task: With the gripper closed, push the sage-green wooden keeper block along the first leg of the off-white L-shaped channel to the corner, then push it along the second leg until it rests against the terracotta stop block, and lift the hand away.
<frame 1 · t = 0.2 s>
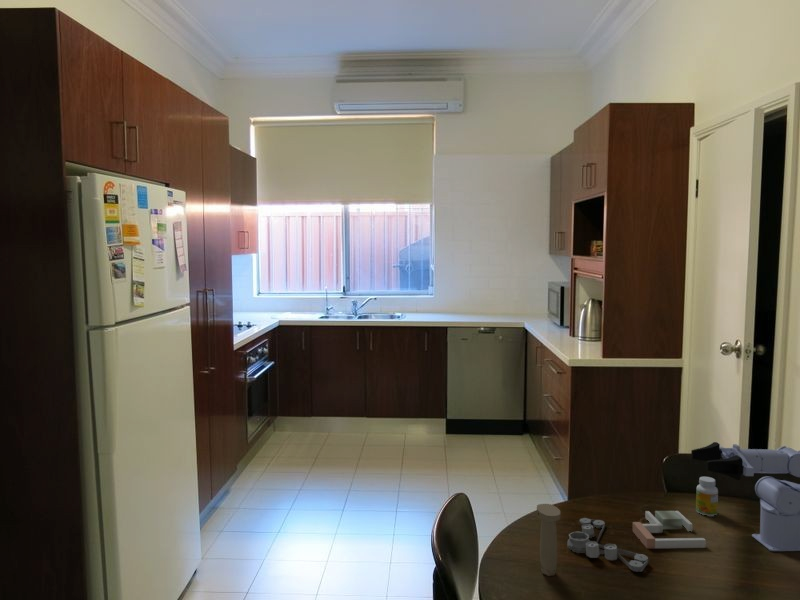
hand: (699, 459, 141), 22 cm above the table, tool horizontal, fingers open, 7 cm apart
stop block: (643, 539, 145), on the table
handle: (548, 573, 130), on the table
pulley system: (596, 548, 142), on the table
keeper block: (668, 525, 153), on the table
supplement bottle: (706, 513, 160), on the table
channel: (671, 535, 147), on the table
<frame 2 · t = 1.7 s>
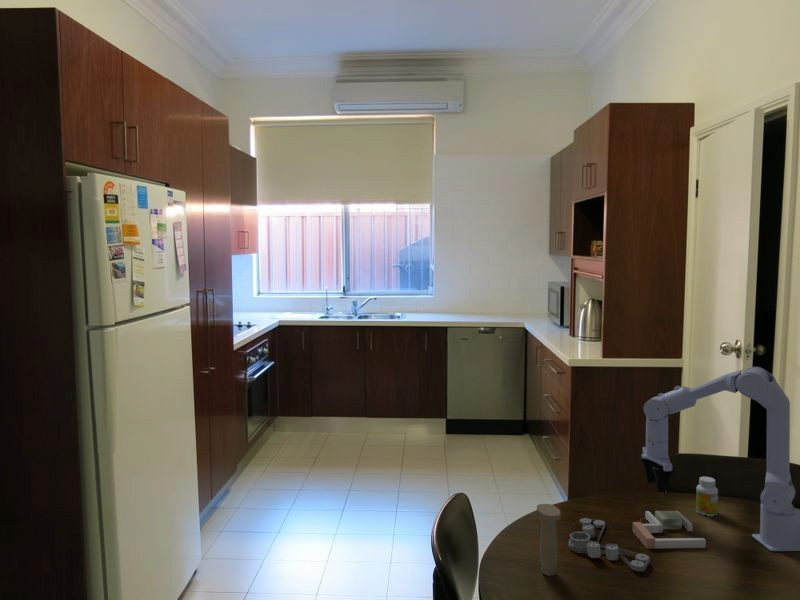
hand: (656, 486, 160), 7 cm above the table, tool pointing down, fingers open, 6 cm apart
nothing on the table moved.
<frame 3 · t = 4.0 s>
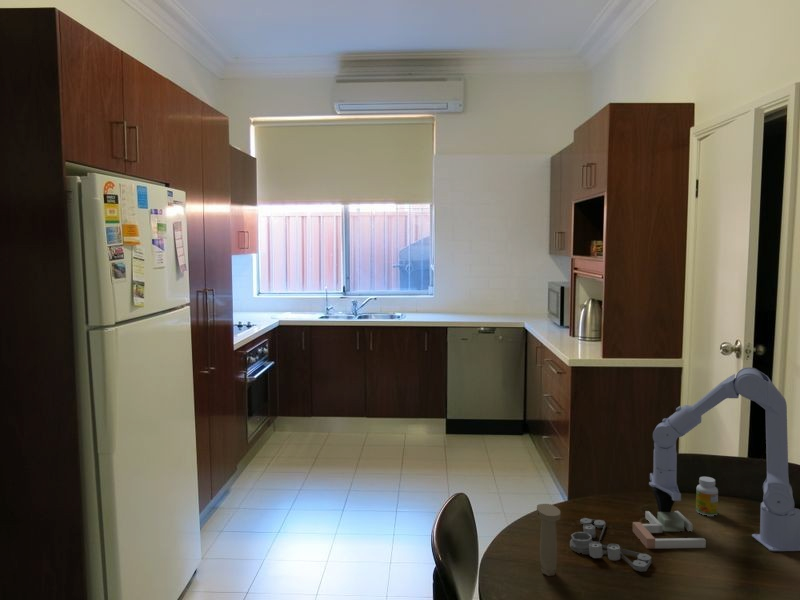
hand: (664, 515, 155), 1 cm above the table, tool pointing down, fingers closed
keeper block: (670, 526, 152), on the table, touching gripper
everything else where it was.
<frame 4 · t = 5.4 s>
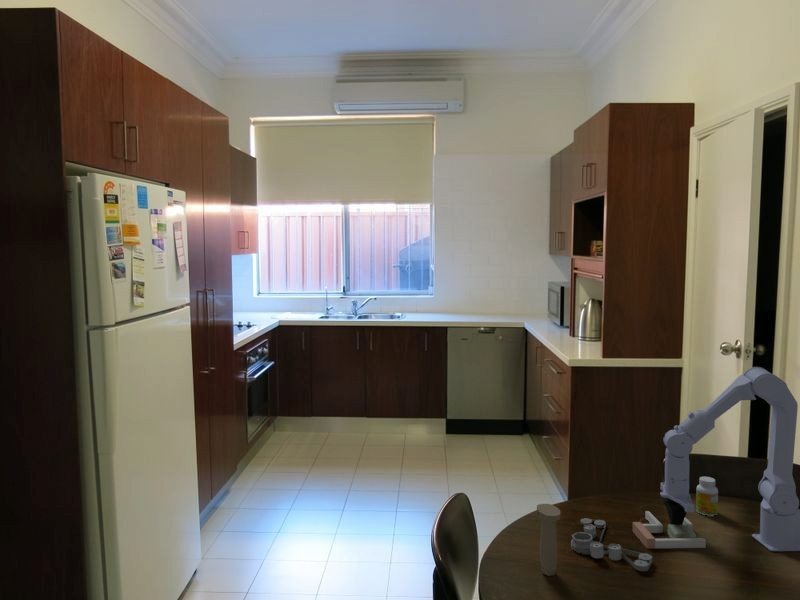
hand: (676, 527, 148), 1 cm above the table, tool pointing down, fingers closed
keeper block: (681, 540, 145), on the table
everything else where it was.
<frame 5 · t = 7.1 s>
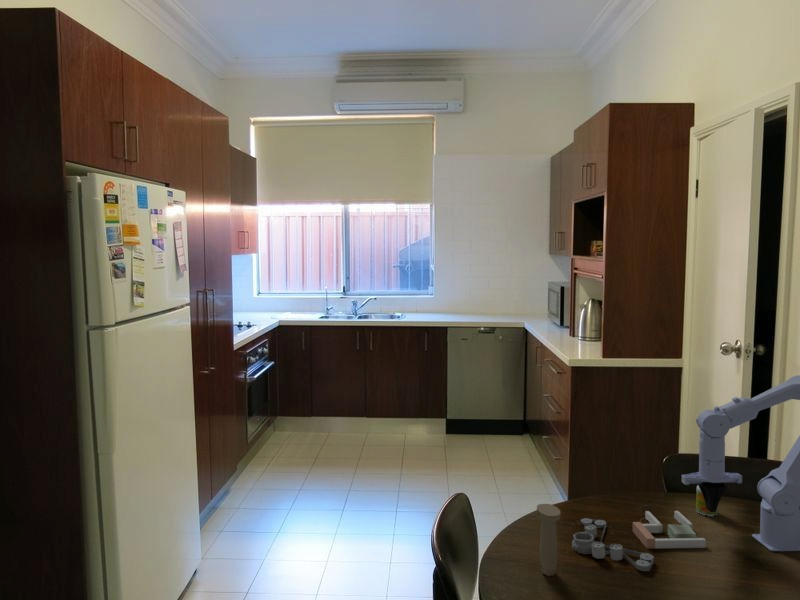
hand: (711, 510, 145), 7 cm above the table, tool pointing down, fingers closed
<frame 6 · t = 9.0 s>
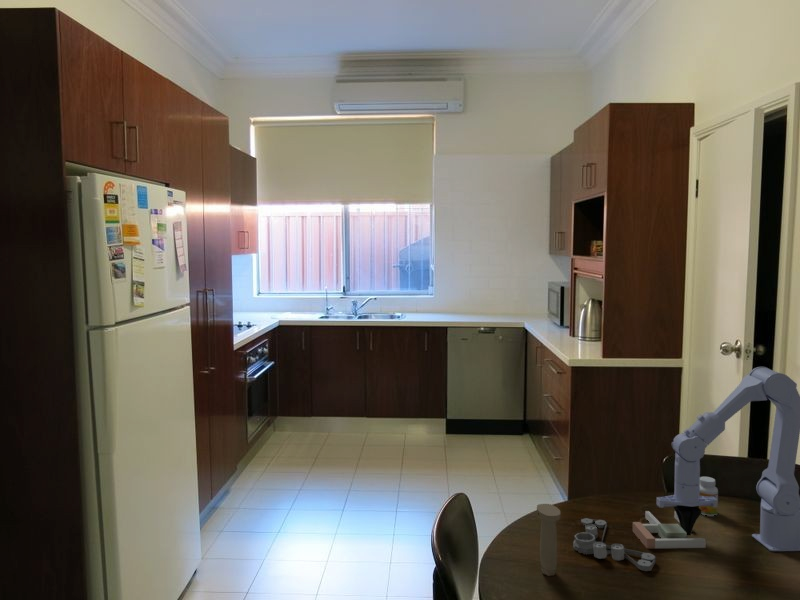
hand: (686, 533, 145), 1 cm above the table, tool pointing down, fingers closed
keeper block: (672, 539, 145), on the table, touching gripper
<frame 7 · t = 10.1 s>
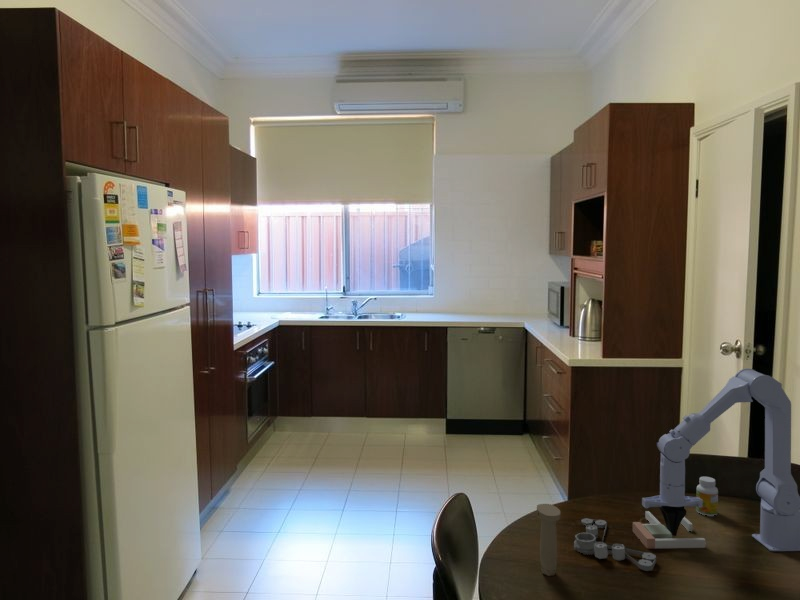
hand: (671, 533, 145), 1 cm above the table, tool pointing down, fingers closed
keeper block: (657, 540, 145), on the table
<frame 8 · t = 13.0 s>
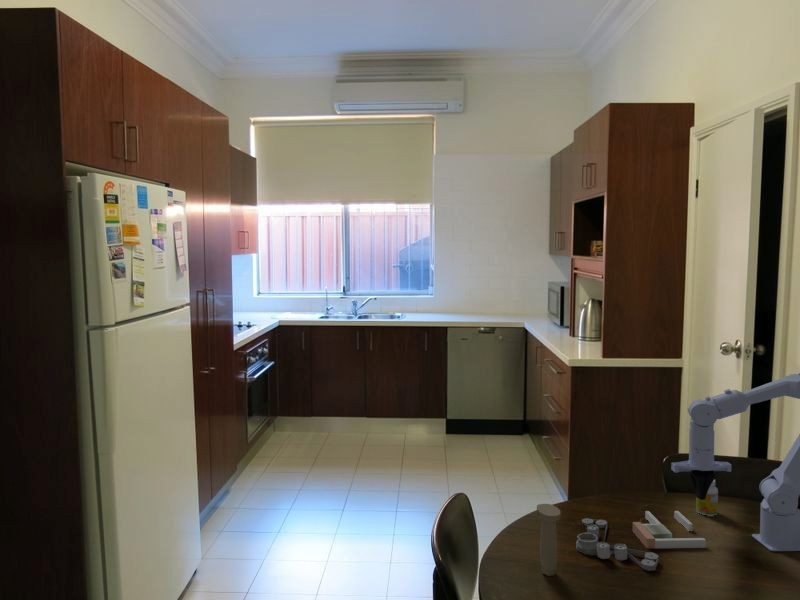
hand: (700, 498, 147), 9 cm above the table, tool pointing down, fingers closed
at the end: keeper block 0.4 cm from the target spot, on the table; keeper block 3.6 cm from the stop block (horizontally); the gripper is holding nothing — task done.
